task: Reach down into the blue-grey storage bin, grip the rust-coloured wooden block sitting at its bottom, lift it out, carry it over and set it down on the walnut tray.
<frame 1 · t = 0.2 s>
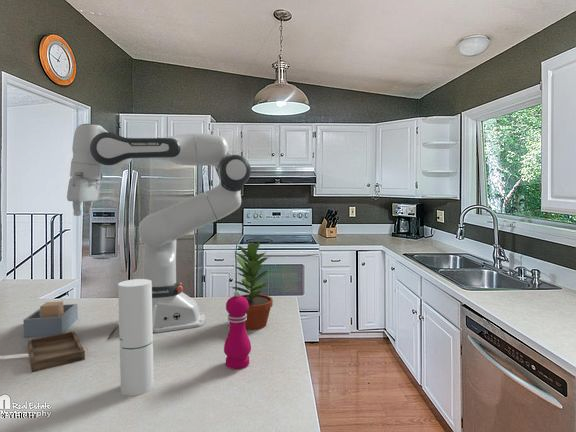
hand: (82, 214, 122), 38 cm above the countertop, tool pointing down, fingers open, 8 cm apart
tray: (55, 353, 104), on the countertop
potted plant: (251, 325, 128), on the countertop
cylindrical container: (137, 388, 86), on the countertop
blue-grey storage bin: (52, 330, 122), on the countertop
pepper mill: (237, 364, 98), on the countertop
block: (52, 327, 122), point 1 cm above the countertop, touching blue-grey storage bin
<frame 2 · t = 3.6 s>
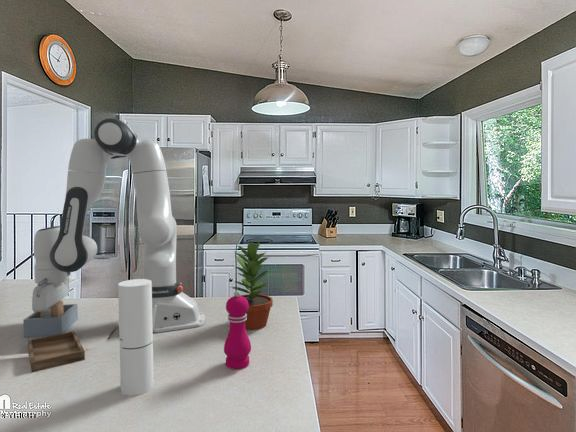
hand: (52, 316, 122), 5 cm above the countertop, tool pointing down, fingers closed on block, 5 cm apart
block: (52, 327, 122), point 1 cm above the countertop, touching blue-grey storage bin, gripper
everything else where it was.
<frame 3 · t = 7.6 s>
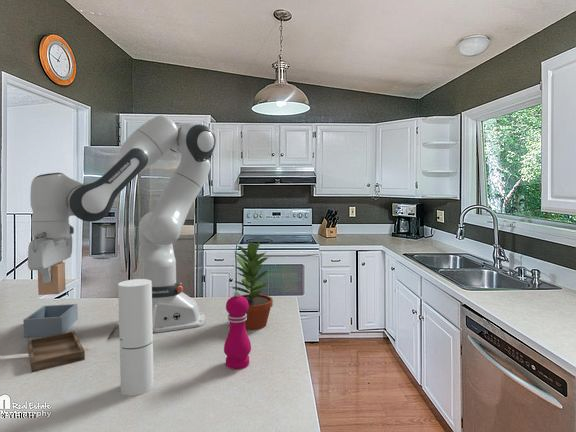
hand: (52, 279, 104), 21 cm above the countertop, tool pointing down, fingers closed on block, 5 cm apart
block: (52, 292, 104), point 18 cm above the countertop, touching gripper
everything else where it was.
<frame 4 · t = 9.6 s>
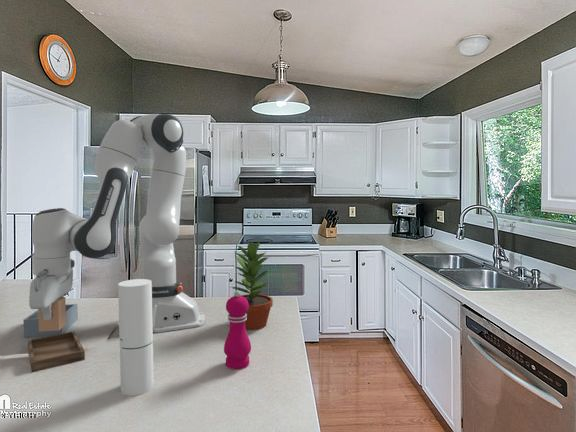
hand: (53, 315, 103), 11 cm above the countertop, tool pointing down, fingers closed on block, 5 cm apart
block: (52, 327, 103), point 8 cm above the countertop, touching gripper
everything else where it was.
when the fingers open (7 cm above the countertop, at t = 11.4 s): block drops 2 cm, resting on tray.
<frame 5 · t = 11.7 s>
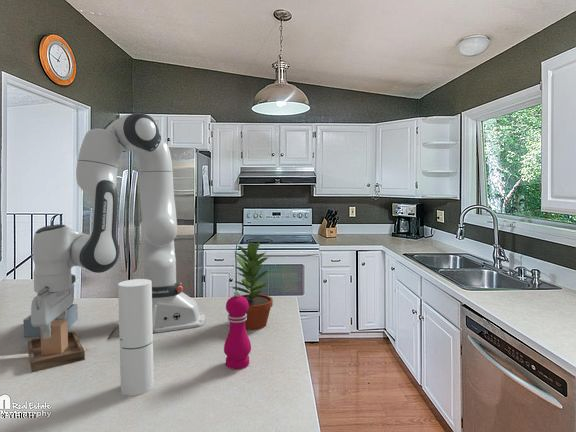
hand: (54, 331, 104), 7 cm above the countertop, tool pointing down, fingers open, 8 cm apart
block: (55, 350, 104), point 1 cm above the countertop, touching tray
everything else where it was.
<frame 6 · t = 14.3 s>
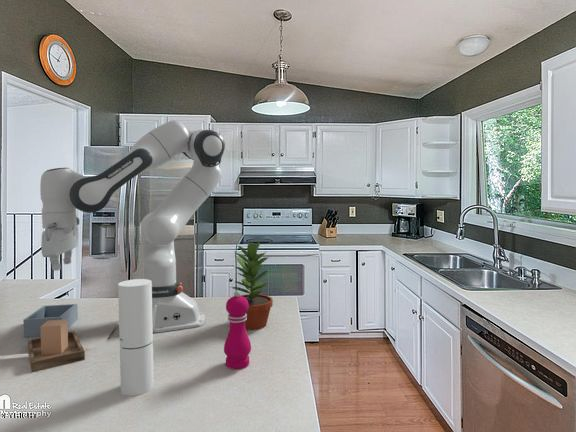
hand: (62, 266, 112), 23 cm above the countertop, tool pointing down, fingers open, 8 cm apart
nothing on the countertop moved.
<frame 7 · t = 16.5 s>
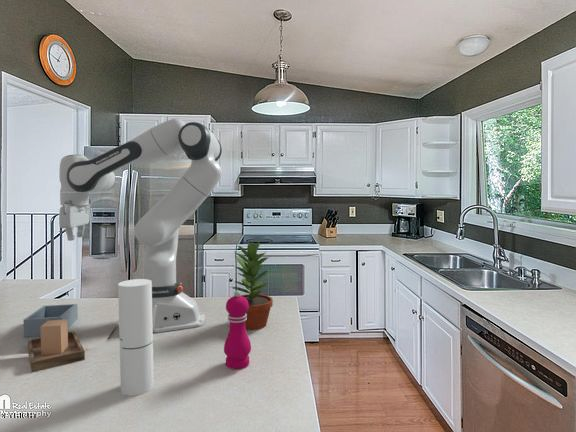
hand: (75, 238, 133), 29 cm above the countertop, tool pointing down, fingers open, 8 cm apart
nothing on the countertop moved.
at the end: block inside the target area on the tray (0.1 cm from its centre), point 1.0 cm above the tray's base; block tilted 0°; the gripper is holding nothing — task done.
